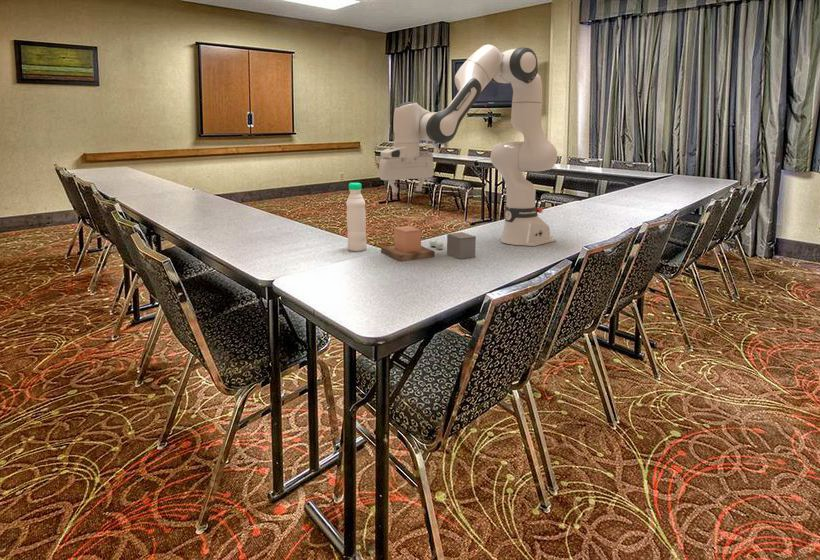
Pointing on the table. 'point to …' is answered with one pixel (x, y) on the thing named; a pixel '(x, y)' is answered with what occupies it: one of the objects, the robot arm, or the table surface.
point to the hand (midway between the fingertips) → (407, 191)
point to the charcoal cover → (461, 245)
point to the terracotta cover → (407, 239)
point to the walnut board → (407, 253)
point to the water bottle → (356, 218)
